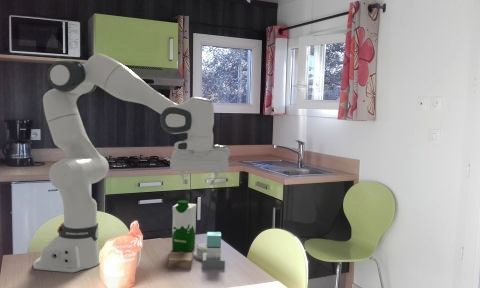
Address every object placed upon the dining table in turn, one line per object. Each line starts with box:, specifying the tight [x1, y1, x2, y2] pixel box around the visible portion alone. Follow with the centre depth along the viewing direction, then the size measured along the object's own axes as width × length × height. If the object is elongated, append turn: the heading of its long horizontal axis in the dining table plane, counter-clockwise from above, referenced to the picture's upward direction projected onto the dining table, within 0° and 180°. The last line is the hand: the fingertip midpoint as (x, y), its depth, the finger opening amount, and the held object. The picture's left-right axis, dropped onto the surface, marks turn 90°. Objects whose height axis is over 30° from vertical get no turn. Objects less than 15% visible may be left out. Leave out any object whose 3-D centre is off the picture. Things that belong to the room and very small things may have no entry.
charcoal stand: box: [201, 252, 226, 270], centre depth 159 cm, size 8×8×3 cm
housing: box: [206, 231, 222, 259], centre depth 159 cm, size 5×4×9 cm
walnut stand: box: [168, 251, 193, 269], centre depth 158 cm, size 8×8×3 cm
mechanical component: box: [193, 242, 207, 261], centre depth 168 cm, size 10×4×10 cm
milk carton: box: [171, 199, 198, 253], centre depth 175 cm, size 9×9×20 cm
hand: (199, 184), depth 150 cm, fingers open, 8 cm apart
